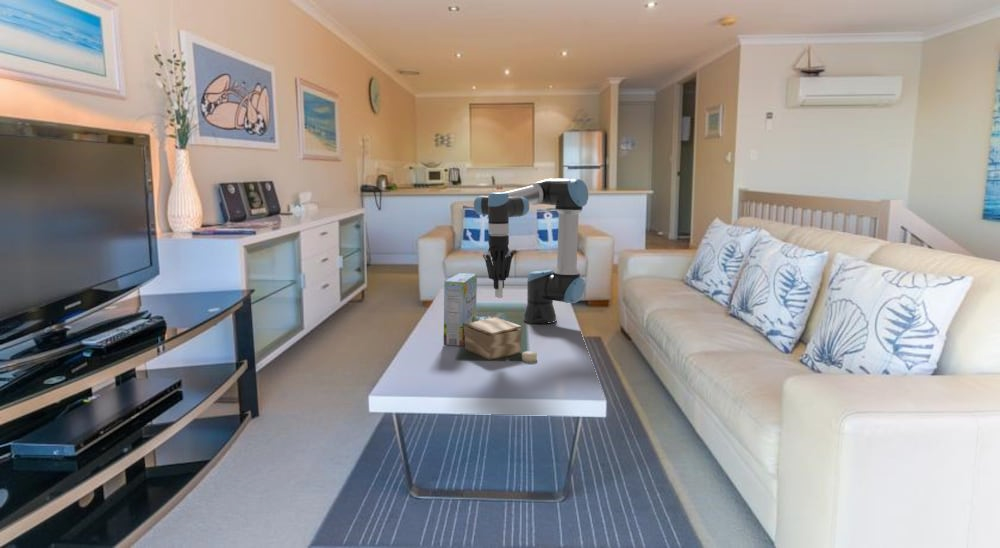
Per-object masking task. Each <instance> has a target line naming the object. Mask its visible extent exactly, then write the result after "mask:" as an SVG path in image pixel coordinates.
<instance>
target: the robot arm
mask: <svg viewBox="0 0 1000 548" xmlns="http://www.w3.org/2000/svg"><path fill="white" fill-rule="evenodd" d="M588 201H589V190H588V186H587V184H586V182H585V181H584V180H582V179H580V178H572V177H571V178H569V177H568V178H555V177H553V178H547V179H543V180H538V181H535V182H530V183H529V184H528V185H527V186H525V187H521V188H517V189H513V190H508V191H504V192H490V193H489V194H488V195H480V196H479V195H478V196H476V198H474V201H473V210H474V212H475V214H477V215H479V216H480V215H481V216H488V225H487V227H488V228H487V229H488V234H489V235H488V236H487V237H488V238H487V239H488V240H487V241H488V246H489V247H488V250H487V253H486V254H482V258H483V259H484V261H485V266H486V270H487V274H488V279H490V280H492V281H493V289H494V296H495V298H499V299H500V298H503V297H504V296H503V294H504V292H503V289H504V288H505V281H506V280H507V278H509V276H510V271H511V265H512V262H513V261H512V259H513V258H514V255H515V253H514V252H513V251H510V248H509V243H510V239H509V238H510V235H508V234H509V233H510V227H509V225H510V224H509V222H510V221H509V220H510V219H509V218H514V217H515V218H517V217H518V218H520V217H523V216H526V215H527V214H528V213H529V210H530V205H533V206H538V205H548V206H549V205H550V206H555V207H554V208H555V211H556V212H557V213H558V223H557V224H558V225H557V226H558V227H557V228H558V231H557V232H558V233H557V258H556V259H557V260H556V261H557V262H556V269H555V270H554V271H553V270H552V269H542V270H536V271H530V272H529V273H528V274H527V281H526V282H527V288H526V289H527V292H526V295H527V300H526V303H527V304H526V306H525V310H524V314H523V322H525V323H529V324H533V323H548V322H553V321H555V320H556V321H557V315H556V311H555V308H554V303H553V301H556V302H561V303H566V304H576V303H577V302H580V300H581V299H582V297H583V295H584V293H585V288H586V283H585V280H584V278H583V277H581V275H580V274H581V272H580V271H579V270H578V269H577V266H578V246H579V245H578V244H579V243H578V242H579V240H578V239H579V214H580V213H581V212H583V207H585V206H586V205H587V203H588ZM556 321H555V322H556ZM553 323H554V322H553Z"/></svg>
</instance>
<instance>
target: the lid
mask: <svg viewBox="0 0 1000 548" xmlns="http://www.w3.org/2000/svg"><path fill="white" fill-rule="evenodd" d="M465 326H467V327H470V328H472V329H475V330H478V331H480V332H483V333H485V334H488V335H494V334H498V333H502V332H506V331H511V330H515V329H521V328H522V325H520V324H517V323H514V322H512V321H511V322H510V321H508V320H505V319H502V318H499V317H497V316H494V317H490V318H486V319H481V320H476V322H471V323H467V324H465Z"/></svg>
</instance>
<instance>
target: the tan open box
mask: <svg viewBox="0 0 1000 548" xmlns="http://www.w3.org/2000/svg"><path fill="white" fill-rule="evenodd" d="M464 349H465V350H466V351H468V352H470V353H473V354H475V355H477V356H479V357H481V358H483V359H486V360H489V361H491V360H495V359H500V358H505V357H508V356H509V357H510V356H513V355H518V354H521V353H522V329H521V328H519V329H515V330H511V331H506V332H502V333H498V334H494V335H488V334H485V333H483V332H480V331H478V330H475V329H472V328H470V327H467V326H465V344H464Z"/></svg>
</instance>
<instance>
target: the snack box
mask: <svg viewBox="0 0 1000 548" xmlns="http://www.w3.org/2000/svg"><path fill="white" fill-rule="evenodd" d="M477 282H478V275H477V273H463V272H459V273H457V274H455V275H453V276H451V277H449V278H447V280H445V281H444V282H443V283H444V288H443V290H444V291H443V293H444V294H443V296H444V297H443V299H444V300H443V346H444V345H446V346H454V347H463V346H465V324H467V323H471V322H476V321H477V293H478V292H477V291H478V290H477V287H478V286H477V285H478V283H477Z"/></svg>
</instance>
